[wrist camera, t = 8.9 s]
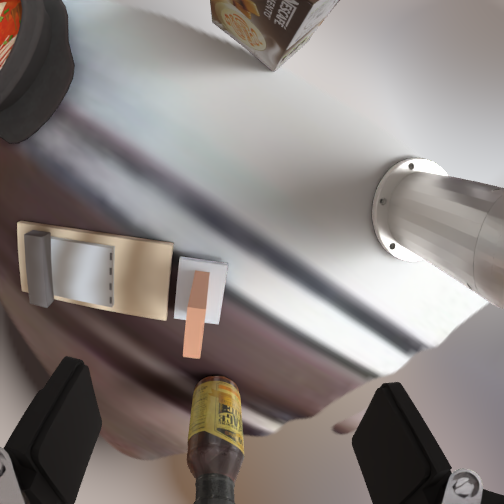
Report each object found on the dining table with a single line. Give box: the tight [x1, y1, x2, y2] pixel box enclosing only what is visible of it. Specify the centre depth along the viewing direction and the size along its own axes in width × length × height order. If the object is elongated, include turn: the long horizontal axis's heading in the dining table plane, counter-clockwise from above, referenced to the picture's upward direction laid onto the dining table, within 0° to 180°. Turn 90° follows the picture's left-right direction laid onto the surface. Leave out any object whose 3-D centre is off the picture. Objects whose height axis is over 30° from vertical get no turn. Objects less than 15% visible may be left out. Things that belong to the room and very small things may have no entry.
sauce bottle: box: [187, 376, 244, 504], centre depth 30 cm, size 6×6×20 cm
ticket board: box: [17, 221, 174, 321], centre depth 31 cm, size 20×9×4 cm, turn 80°
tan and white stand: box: [174, 256, 228, 359], centre depth 29 cm, size 5×7×9 cm
